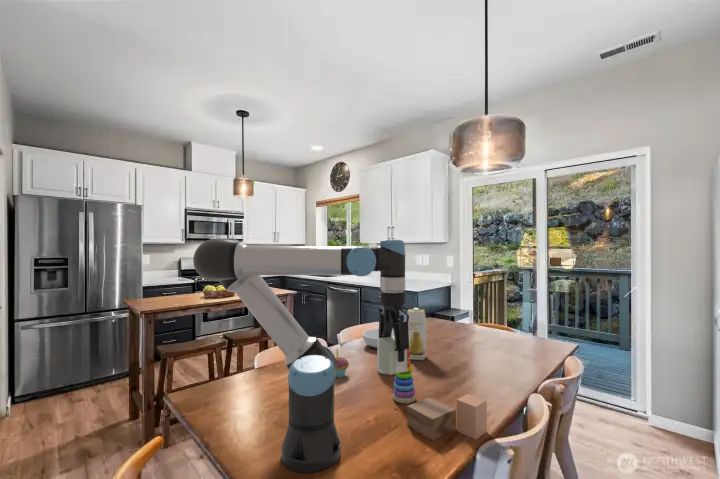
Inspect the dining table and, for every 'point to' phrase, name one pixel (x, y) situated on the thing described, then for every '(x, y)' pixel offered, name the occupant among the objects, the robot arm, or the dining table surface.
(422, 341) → the juice carton
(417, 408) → the walnut block
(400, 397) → the stacking toy
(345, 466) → the dining table surface
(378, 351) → the milk bottle
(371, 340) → the serving bowl
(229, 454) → the dining table surface
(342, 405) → the dining table surface
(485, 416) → the terracotta block
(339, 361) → the cupcake
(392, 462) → the dining table surface
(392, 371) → the sage block
